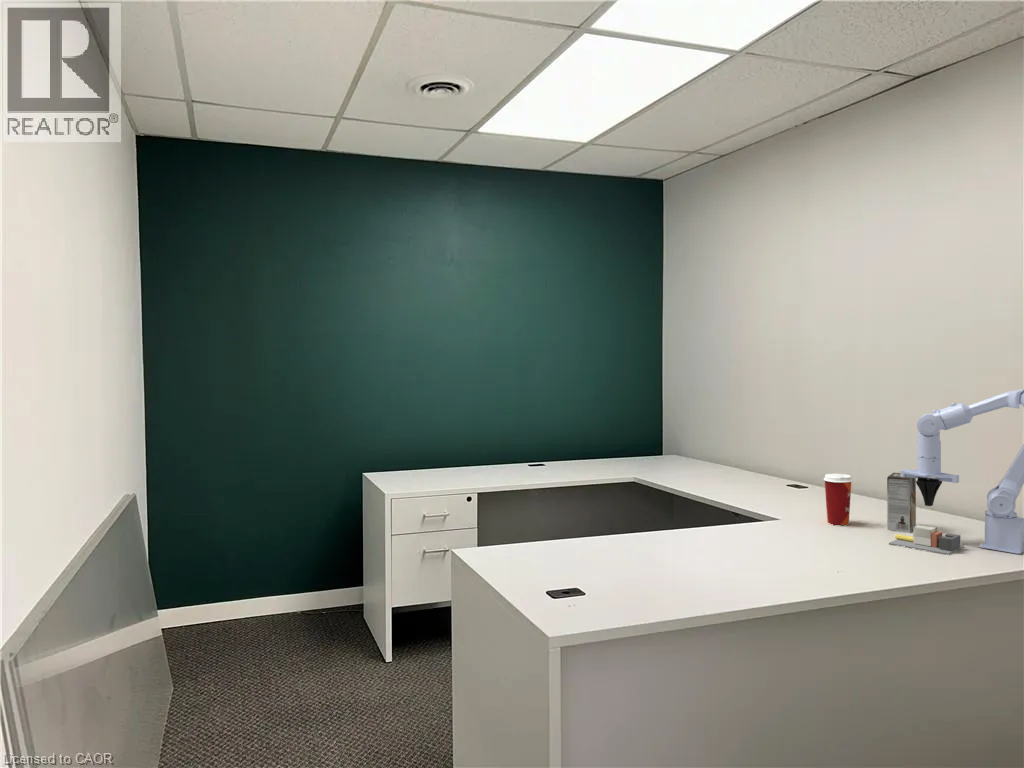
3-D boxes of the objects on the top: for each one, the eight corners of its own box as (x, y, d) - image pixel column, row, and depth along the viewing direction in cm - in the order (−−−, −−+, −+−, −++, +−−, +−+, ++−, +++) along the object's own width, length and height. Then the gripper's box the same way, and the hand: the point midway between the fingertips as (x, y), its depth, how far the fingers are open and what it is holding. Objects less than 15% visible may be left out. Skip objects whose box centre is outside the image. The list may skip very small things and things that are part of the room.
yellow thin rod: (944, 546, 200) (944, 541, 200) (942, 547, 199) (942, 542, 199) (895, 538, 210) (895, 533, 209) (893, 539, 209) (893, 534, 209)
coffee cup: (857, 526, 226) (857, 477, 225) (830, 527, 226) (829, 478, 225) (845, 520, 234) (845, 472, 233) (819, 520, 234) (819, 473, 233)
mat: (963, 546, 201) (963, 545, 201) (948, 554, 194) (948, 553, 194) (905, 537, 212) (905, 535, 212) (888, 544, 205) (888, 542, 205)
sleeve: (937, 543, 203) (937, 527, 202) (930, 546, 200) (930, 530, 200) (919, 540, 206) (919, 524, 206) (913, 543, 203) (913, 527, 203)
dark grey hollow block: (960, 547, 199) (960, 535, 199) (951, 551, 195) (951, 539, 195) (944, 544, 202) (944, 532, 202) (935, 548, 198) (935, 536, 198)
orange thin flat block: (942, 545, 201) (942, 531, 201) (936, 547, 199) (936, 534, 199) (936, 544, 203) (936, 531, 202) (930, 546, 200) (930, 533, 200)
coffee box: (892, 523, 228) (892, 471, 227) (916, 526, 224) (916, 473, 223) (886, 530, 220) (886, 476, 220) (910, 533, 216) (910, 478, 216)
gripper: (895, 456, 210) (895, 503, 210) (952, 461, 199) (951, 511, 199) (906, 453, 214) (906, 500, 215) (962, 458, 203) (961, 507, 204)
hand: (929, 505), depth 207 cm, fingers closed
